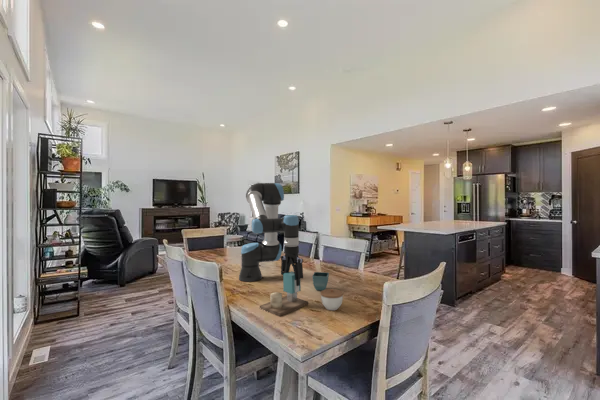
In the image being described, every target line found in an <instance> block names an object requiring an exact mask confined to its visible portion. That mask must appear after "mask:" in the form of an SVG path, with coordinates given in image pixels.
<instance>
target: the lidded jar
mask: <svg viewBox="0 0 600 400" xmlns="http://www.w3.org/2000/svg"><path fill="white" fill-rule="evenodd" d="M320 296H321V297H320V298H321V299H320V300H321V303H322V305H323V307H325V310H328V311H336V310H339V308H340V307H341V306H342V303H343V299H344V293H343V291H342V290H339V289H338V288H337V289H335V288H326V289H325V290H320Z"/></svg>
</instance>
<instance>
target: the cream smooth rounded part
mask: <svg viewBox="0 0 600 400" xmlns="http://www.w3.org/2000/svg"><path fill="white" fill-rule="evenodd" d="M282 297H283V293H281V292H272V293H270V298H269V299H270V301H269V302H270V304H271V308H273V309H279V308H281V307H282Z"/></svg>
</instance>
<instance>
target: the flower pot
mask: <svg viewBox="0 0 600 400" xmlns="http://www.w3.org/2000/svg"><path fill="white" fill-rule="evenodd" d="M329 274H330V273H329V272H324V271H323V272H319V271H314V272H313V274H312V276H311V277H312V284H313V287H314V289H315V290H316V291H323V290H325V289H327V285H328V283H329V276H330V275H329Z"/></svg>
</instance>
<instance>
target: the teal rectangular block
mask: <svg viewBox="0 0 600 400" xmlns="http://www.w3.org/2000/svg"><path fill="white" fill-rule="evenodd" d="M282 276H283V277H282V278H283V280H282V281H283V284H282V285H283V288H282V289H283V292H285V293H287V292H288V293H291V294H293V293H295V284H294V279H296V278H295V274H294V271H289V272H288V273H284V274H283V275H282ZM301 286H302V284H300V286H299V292H301V291H302V290H301Z"/></svg>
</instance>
